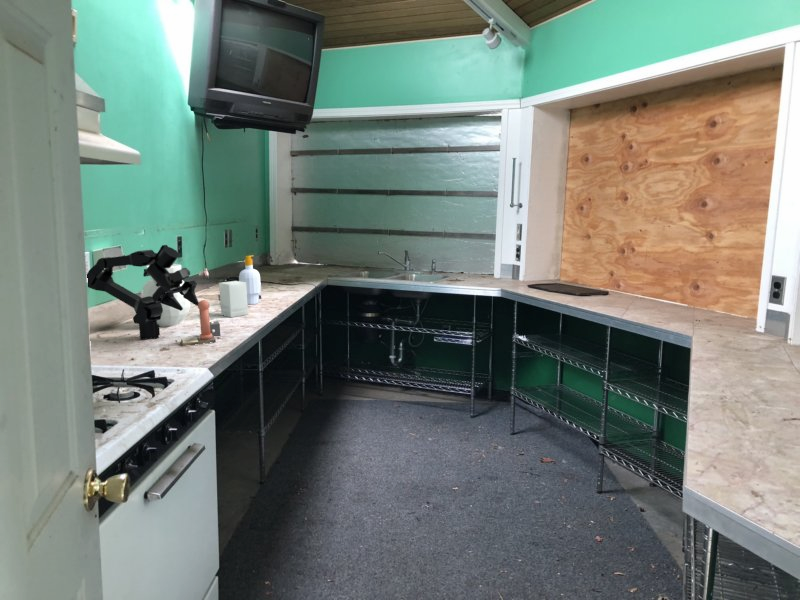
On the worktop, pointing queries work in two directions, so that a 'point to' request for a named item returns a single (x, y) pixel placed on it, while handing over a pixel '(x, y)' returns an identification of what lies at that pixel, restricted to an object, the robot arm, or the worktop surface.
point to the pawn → (204, 320)
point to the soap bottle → (251, 281)
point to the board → (196, 341)
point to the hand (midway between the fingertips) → (190, 307)
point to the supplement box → (233, 298)
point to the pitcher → (169, 313)
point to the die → (215, 328)
